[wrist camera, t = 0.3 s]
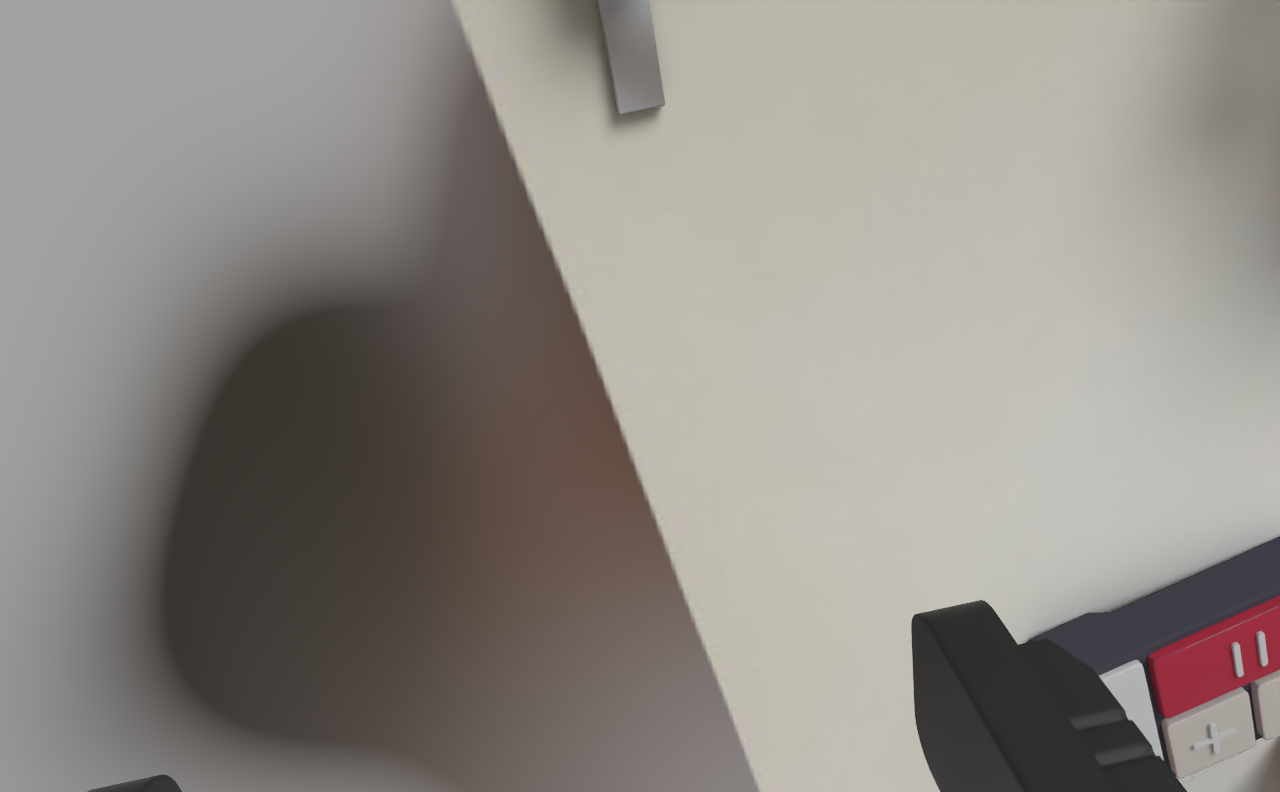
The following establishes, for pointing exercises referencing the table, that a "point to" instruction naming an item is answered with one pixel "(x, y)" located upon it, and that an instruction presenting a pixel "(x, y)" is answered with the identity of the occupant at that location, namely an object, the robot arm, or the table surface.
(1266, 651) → the calculator
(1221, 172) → the table surface
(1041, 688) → the robot arm
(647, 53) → the knife
